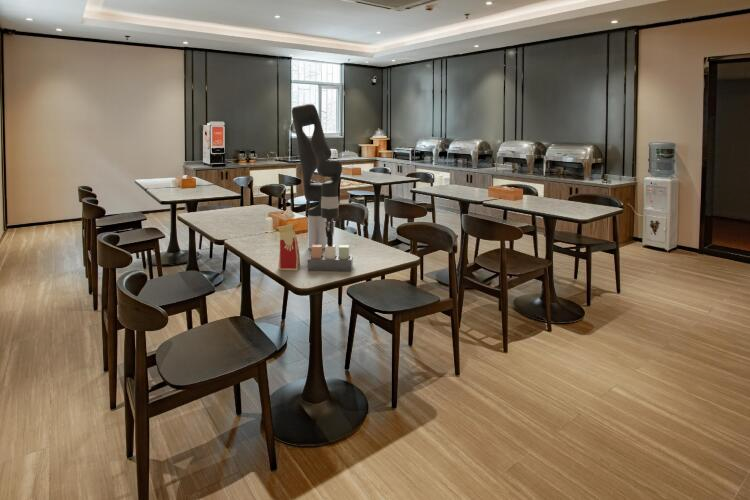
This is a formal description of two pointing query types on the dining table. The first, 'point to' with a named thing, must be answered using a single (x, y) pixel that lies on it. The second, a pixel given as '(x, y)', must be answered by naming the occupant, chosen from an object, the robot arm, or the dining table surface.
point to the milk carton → (288, 249)
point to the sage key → (344, 252)
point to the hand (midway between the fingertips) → (330, 245)
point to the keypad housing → (330, 264)
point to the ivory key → (330, 252)
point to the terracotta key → (316, 251)
